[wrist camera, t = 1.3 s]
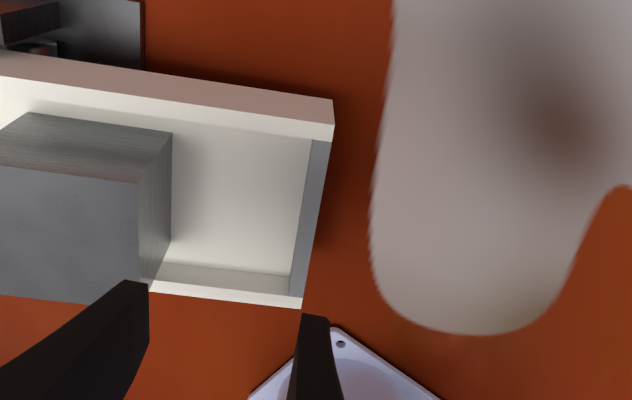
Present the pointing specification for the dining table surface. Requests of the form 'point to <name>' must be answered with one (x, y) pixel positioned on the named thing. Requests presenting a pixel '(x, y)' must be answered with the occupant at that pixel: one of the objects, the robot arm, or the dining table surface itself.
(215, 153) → the beam
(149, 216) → the grey block
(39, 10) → the stand
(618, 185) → the dining table surface
